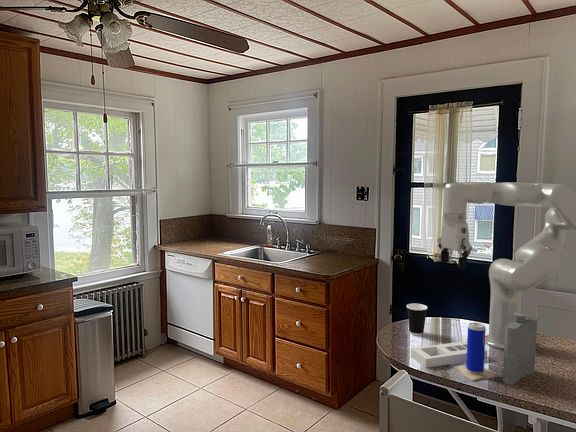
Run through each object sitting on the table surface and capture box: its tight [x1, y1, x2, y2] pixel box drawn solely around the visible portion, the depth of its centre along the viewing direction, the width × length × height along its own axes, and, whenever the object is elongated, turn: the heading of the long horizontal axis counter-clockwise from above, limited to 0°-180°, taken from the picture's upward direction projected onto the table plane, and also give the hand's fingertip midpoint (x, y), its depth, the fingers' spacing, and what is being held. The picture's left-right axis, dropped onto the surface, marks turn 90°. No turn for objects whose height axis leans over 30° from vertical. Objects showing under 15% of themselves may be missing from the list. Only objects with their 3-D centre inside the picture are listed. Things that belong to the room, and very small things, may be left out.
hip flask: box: [502, 312, 538, 386], centre depth 137 cm, size 16×4×20 cm, turn 127°
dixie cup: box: [406, 303, 429, 337], centre depth 174 cm, size 8×8×11 cm
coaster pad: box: [453, 364, 498, 382], centre depth 141 cm, size 9×9×1 cm
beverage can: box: [465, 322, 487, 374], centre depth 140 cm, size 5×5×15 cm
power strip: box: [410, 340, 488, 369], centre depth 152 cm, size 24×9×4 cm, turn 106°
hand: (453, 265), depth 159 cm, fingers open, 9 cm apart
